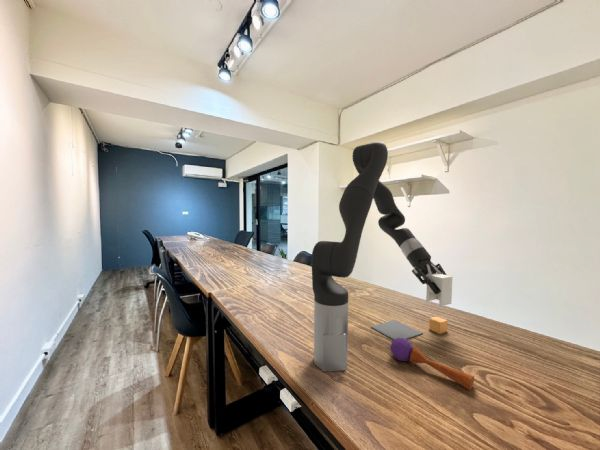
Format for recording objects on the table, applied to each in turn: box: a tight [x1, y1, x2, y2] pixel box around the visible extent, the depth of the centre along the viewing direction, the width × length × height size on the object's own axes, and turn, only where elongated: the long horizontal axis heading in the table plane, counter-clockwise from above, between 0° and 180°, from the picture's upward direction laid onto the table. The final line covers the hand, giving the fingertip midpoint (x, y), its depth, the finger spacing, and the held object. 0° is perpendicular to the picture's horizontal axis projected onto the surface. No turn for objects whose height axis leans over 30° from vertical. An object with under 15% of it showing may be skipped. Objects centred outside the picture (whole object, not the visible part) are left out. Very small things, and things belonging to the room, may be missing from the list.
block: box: [428, 316, 448, 335], centre depth 90 cm, size 4×4×4 cm
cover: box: [425, 273, 453, 307], centre depth 90 cm, size 6×6×10 cm
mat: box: [370, 319, 423, 341], centre depth 90 cm, size 12×12×1 cm
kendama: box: [390, 338, 475, 391], centre depth 67 cm, size 6×6×20 cm
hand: (444, 291), depth 88 cm, fingers closed on cover, 5 cm apart
